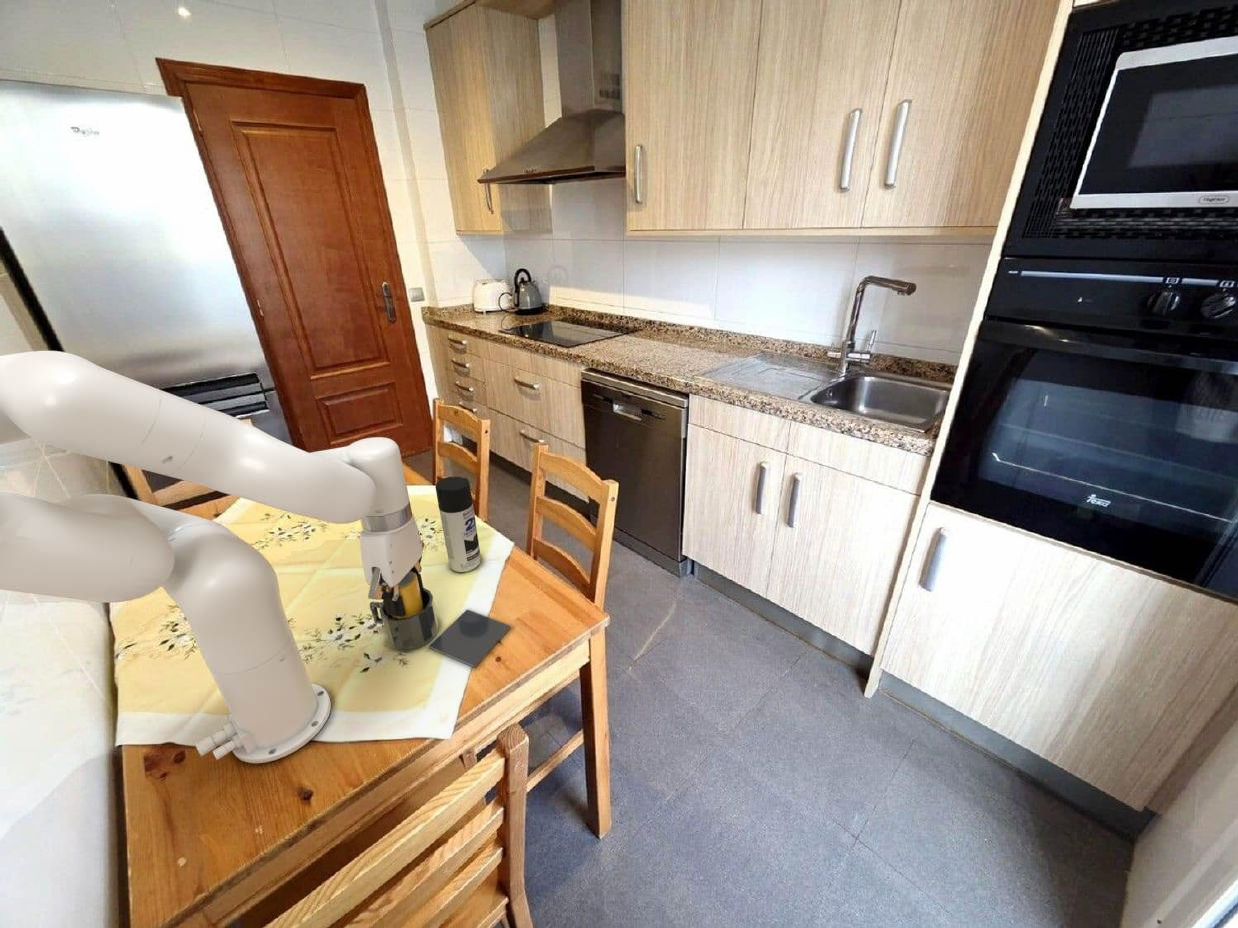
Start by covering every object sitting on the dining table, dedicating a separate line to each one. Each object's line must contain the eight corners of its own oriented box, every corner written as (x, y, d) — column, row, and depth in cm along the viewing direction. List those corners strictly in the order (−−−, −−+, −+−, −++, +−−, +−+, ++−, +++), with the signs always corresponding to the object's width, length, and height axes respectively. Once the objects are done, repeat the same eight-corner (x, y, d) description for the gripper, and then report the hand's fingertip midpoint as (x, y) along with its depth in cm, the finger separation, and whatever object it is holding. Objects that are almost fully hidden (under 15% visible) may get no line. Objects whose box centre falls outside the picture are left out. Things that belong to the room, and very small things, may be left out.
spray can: (472, 575, 105) (460, 492, 97) (443, 571, 107) (428, 488, 98) (486, 556, 111) (476, 476, 102) (458, 552, 112) (445, 473, 104)
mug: (446, 619, 94) (441, 589, 91) (423, 654, 86) (416, 623, 83) (390, 611, 96) (382, 582, 93) (361, 645, 88) (353, 614, 85)
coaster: (475, 668, 84) (474, 665, 84) (429, 648, 88) (428, 645, 87) (510, 628, 92) (510, 625, 92) (467, 611, 96) (467, 609, 96)
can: (406, 646, 87) (394, 593, 82) (391, 631, 90) (378, 579, 85) (433, 629, 91) (422, 577, 86) (417, 616, 94) (406, 565, 89)
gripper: (394, 486, 88) (412, 570, 96) (328, 542, 73) (355, 635, 81) (434, 490, 87) (449, 574, 95) (375, 548, 72) (398, 642, 79)
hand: (405, 601), depth 88 cm, fingers closed on can, 5 cm apart
